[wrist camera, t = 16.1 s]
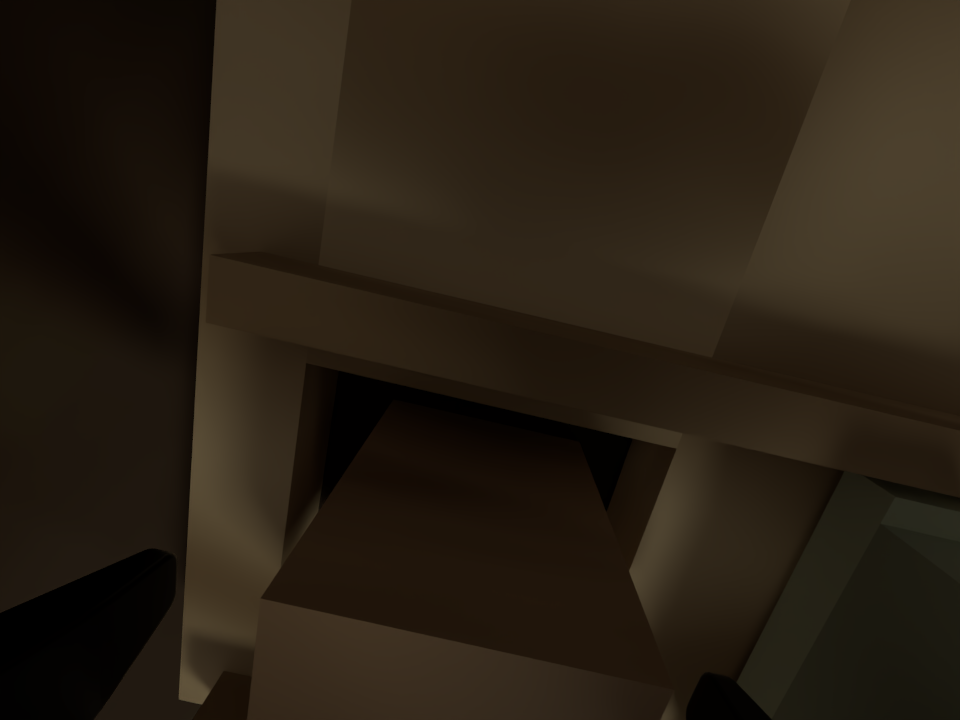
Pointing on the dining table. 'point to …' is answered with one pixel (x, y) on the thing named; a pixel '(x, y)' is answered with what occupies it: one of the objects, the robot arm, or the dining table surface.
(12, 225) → the dining table surface
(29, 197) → the dining table surface
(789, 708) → the lid
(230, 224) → the puzzle board
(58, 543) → the dining table surface
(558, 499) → the walnut block
